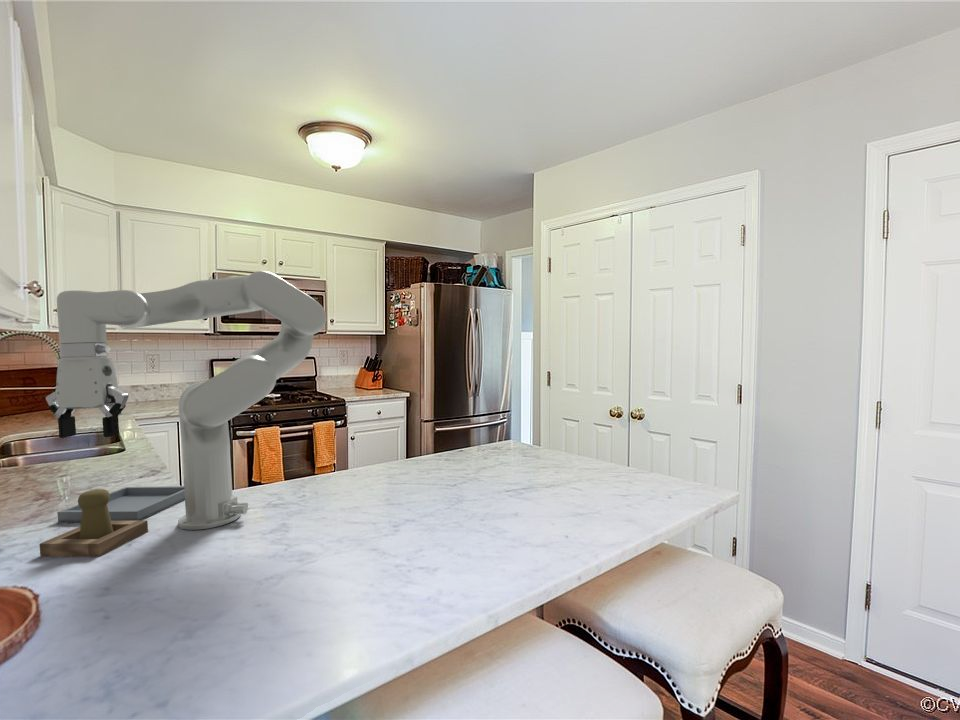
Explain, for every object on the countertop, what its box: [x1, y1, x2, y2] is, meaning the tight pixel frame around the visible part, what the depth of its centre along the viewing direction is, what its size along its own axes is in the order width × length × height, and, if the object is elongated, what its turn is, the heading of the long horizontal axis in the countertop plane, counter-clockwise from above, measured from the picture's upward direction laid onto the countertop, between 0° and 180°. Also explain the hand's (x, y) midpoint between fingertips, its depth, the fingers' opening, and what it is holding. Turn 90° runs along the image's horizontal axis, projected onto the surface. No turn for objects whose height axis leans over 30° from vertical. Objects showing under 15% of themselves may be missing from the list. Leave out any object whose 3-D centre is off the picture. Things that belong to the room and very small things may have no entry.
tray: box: [56, 485, 185, 524], centre depth 125 cm, size 20×20×2 cm
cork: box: [77, 488, 113, 539], centre depth 102 cm, size 6×6×11 cm
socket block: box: [39, 519, 149, 557], centre depth 102 cm, size 12×12×2 cm
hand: (89, 436), depth 102 cm, fingers open, 9 cm apart
